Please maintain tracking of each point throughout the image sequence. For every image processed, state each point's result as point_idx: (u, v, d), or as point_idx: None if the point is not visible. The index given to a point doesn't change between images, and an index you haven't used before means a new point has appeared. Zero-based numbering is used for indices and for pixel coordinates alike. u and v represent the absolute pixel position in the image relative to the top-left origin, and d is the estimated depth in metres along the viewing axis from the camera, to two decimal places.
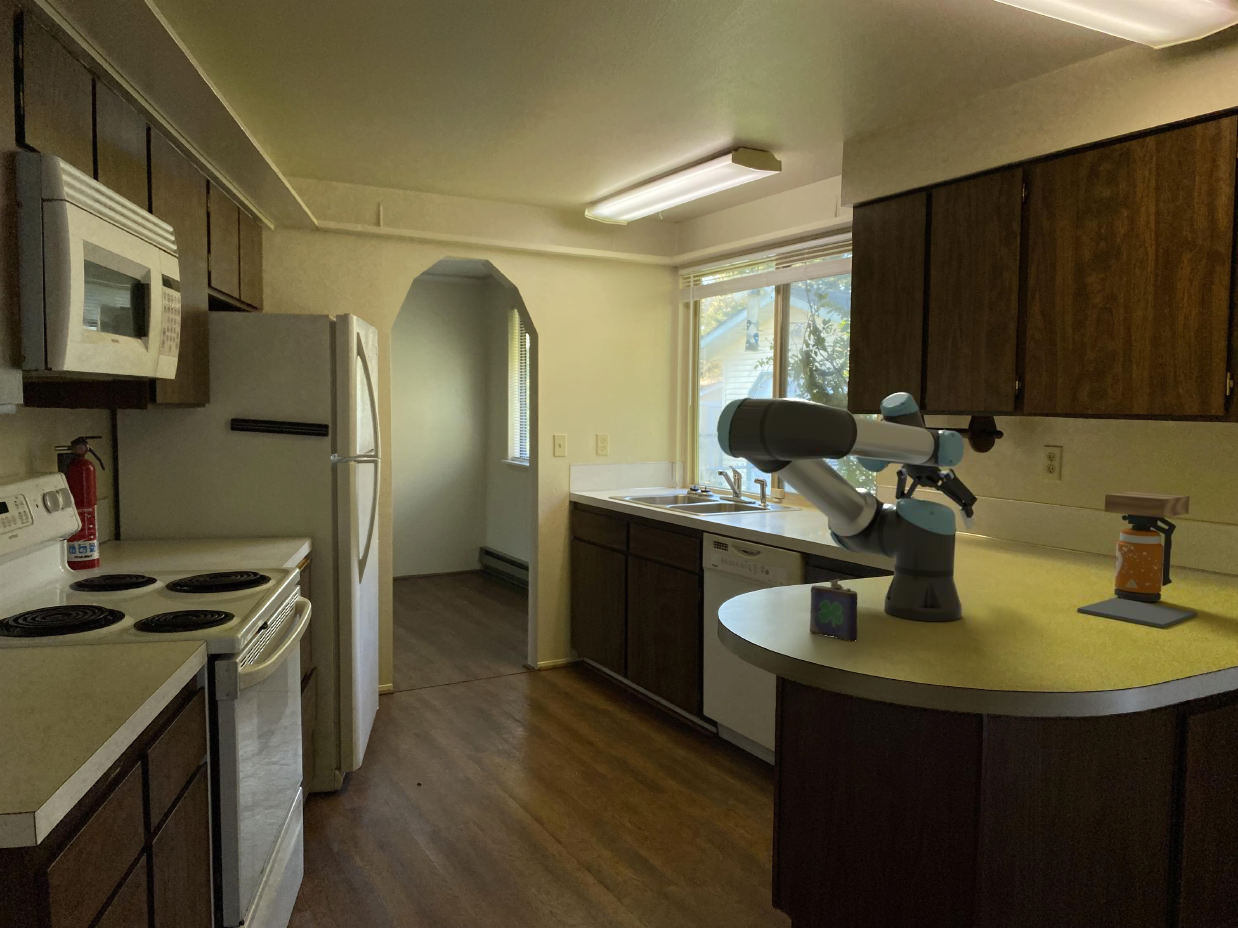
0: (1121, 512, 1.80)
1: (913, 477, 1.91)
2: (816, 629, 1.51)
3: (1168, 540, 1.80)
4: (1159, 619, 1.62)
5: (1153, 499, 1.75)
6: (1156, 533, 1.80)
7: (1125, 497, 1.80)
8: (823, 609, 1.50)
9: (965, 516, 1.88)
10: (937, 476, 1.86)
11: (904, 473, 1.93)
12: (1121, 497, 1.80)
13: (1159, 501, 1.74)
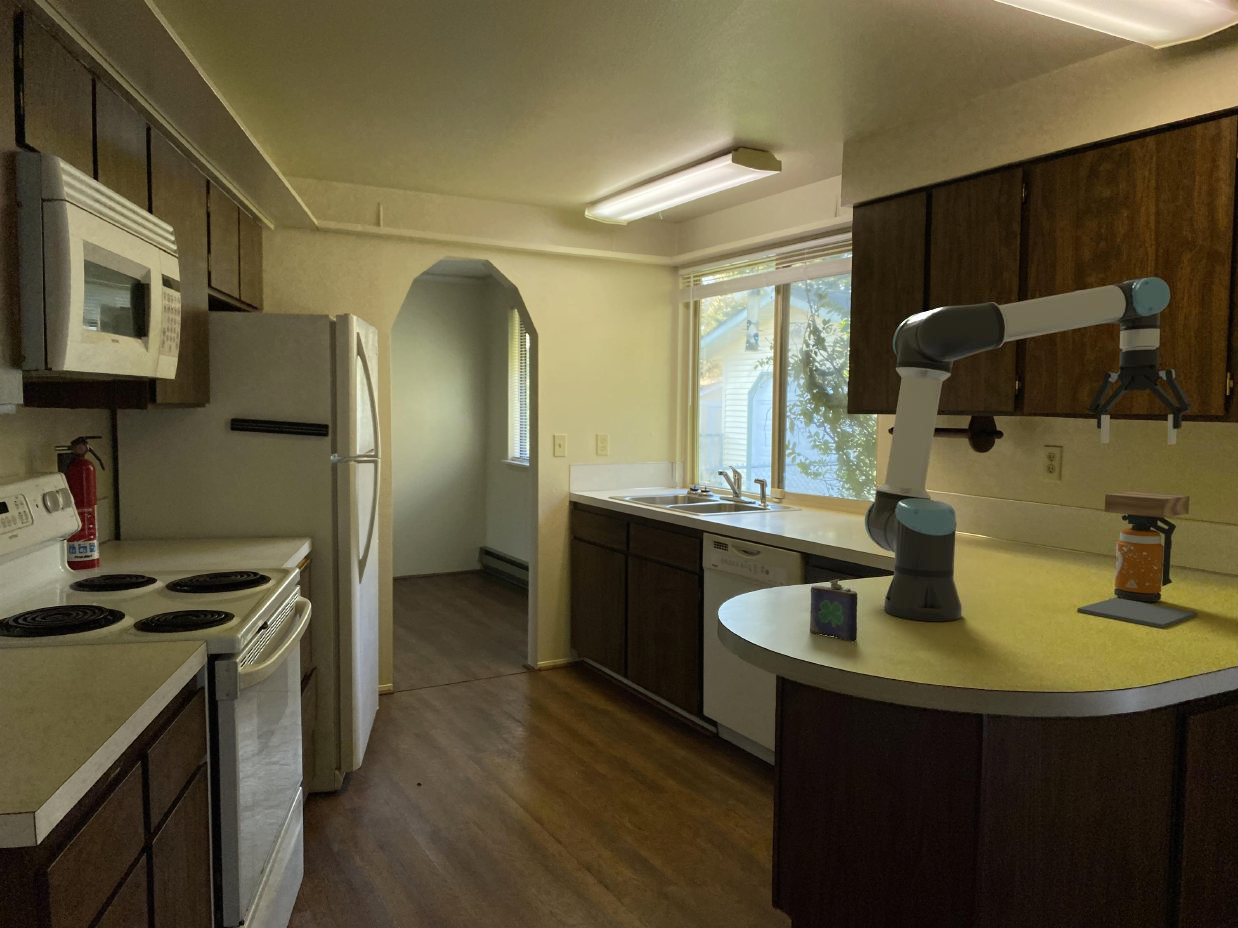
0: (1121, 512, 1.80)
1: (1124, 378, 1.84)
2: (816, 629, 1.51)
3: (1168, 540, 1.80)
4: (1159, 619, 1.62)
5: (1153, 499, 1.75)
6: (1156, 533, 1.80)
7: (1125, 497, 1.80)
8: (823, 609, 1.50)
9: (1172, 426, 1.76)
10: (1156, 373, 1.78)
11: (1112, 377, 1.86)
12: (1121, 497, 1.80)
13: (1159, 501, 1.74)
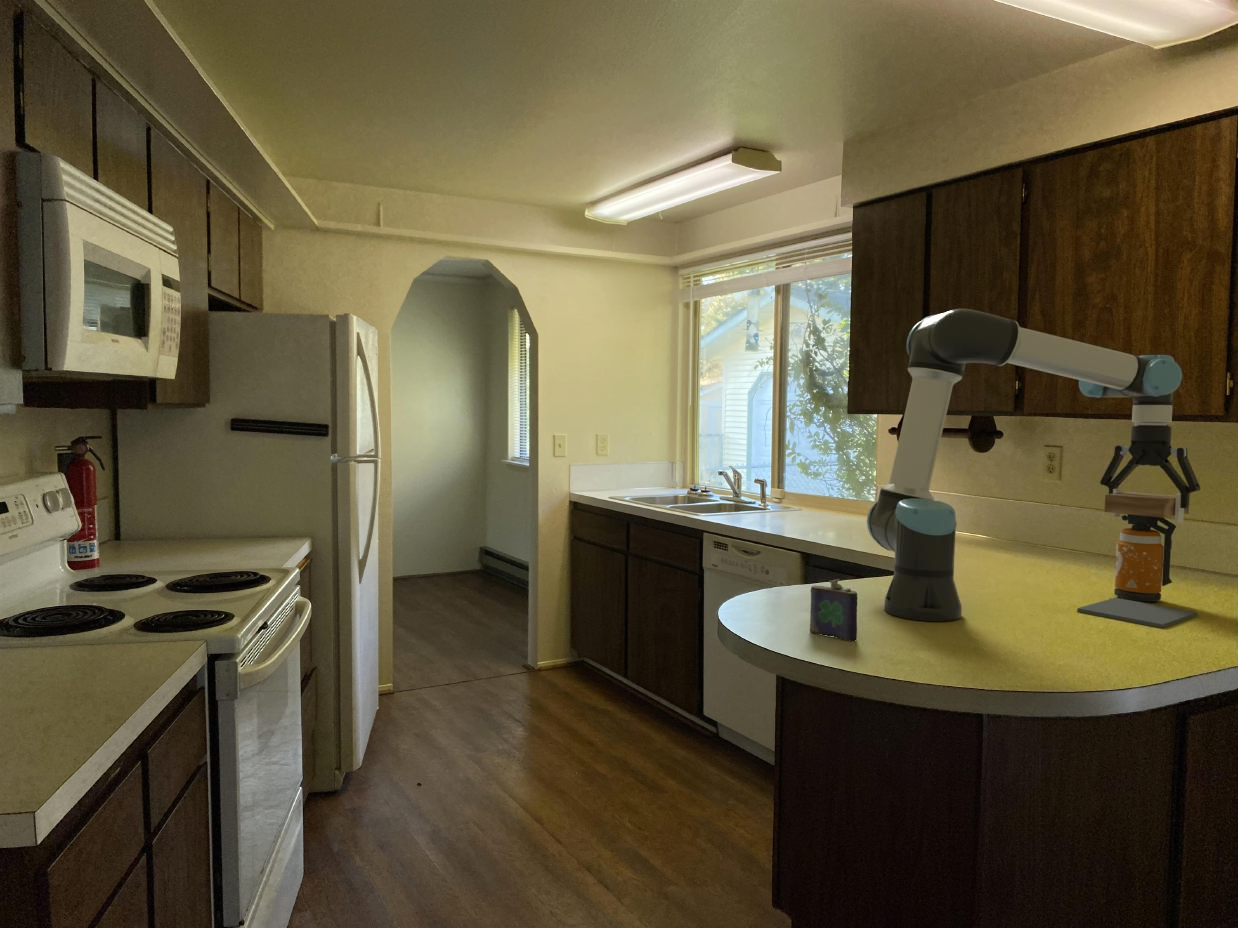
0: (1121, 512, 1.80)
1: (1135, 452, 1.83)
2: (816, 629, 1.51)
3: (1168, 540, 1.80)
4: (1159, 619, 1.62)
5: (1153, 499, 1.75)
6: (1156, 533, 1.80)
7: (1125, 497, 1.80)
8: (823, 609, 1.50)
9: (1179, 505, 1.76)
10: (1167, 450, 1.78)
11: (1123, 450, 1.86)
12: (1121, 497, 1.80)
13: (1159, 501, 1.74)
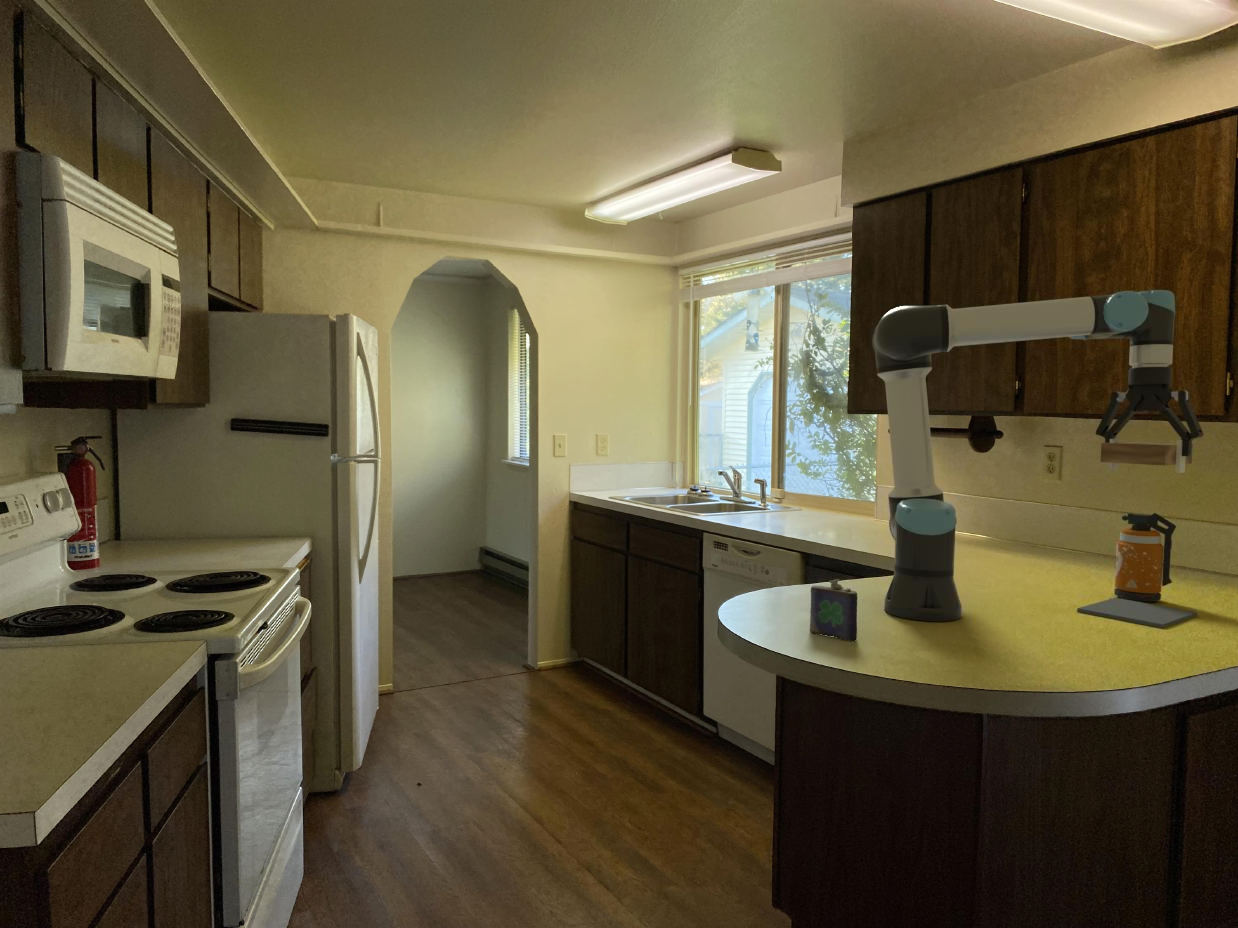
0: (1118, 461, 1.66)
1: (1133, 397, 1.69)
2: (816, 629, 1.51)
3: (1168, 540, 1.80)
4: (1159, 619, 1.62)
5: (1153, 446, 1.61)
6: (1156, 533, 1.80)
7: (1123, 445, 1.65)
8: (823, 609, 1.50)
9: (1181, 453, 1.62)
10: (1168, 394, 1.64)
11: (1120, 396, 1.71)
12: (1118, 445, 1.66)
13: (1160, 447, 1.60)
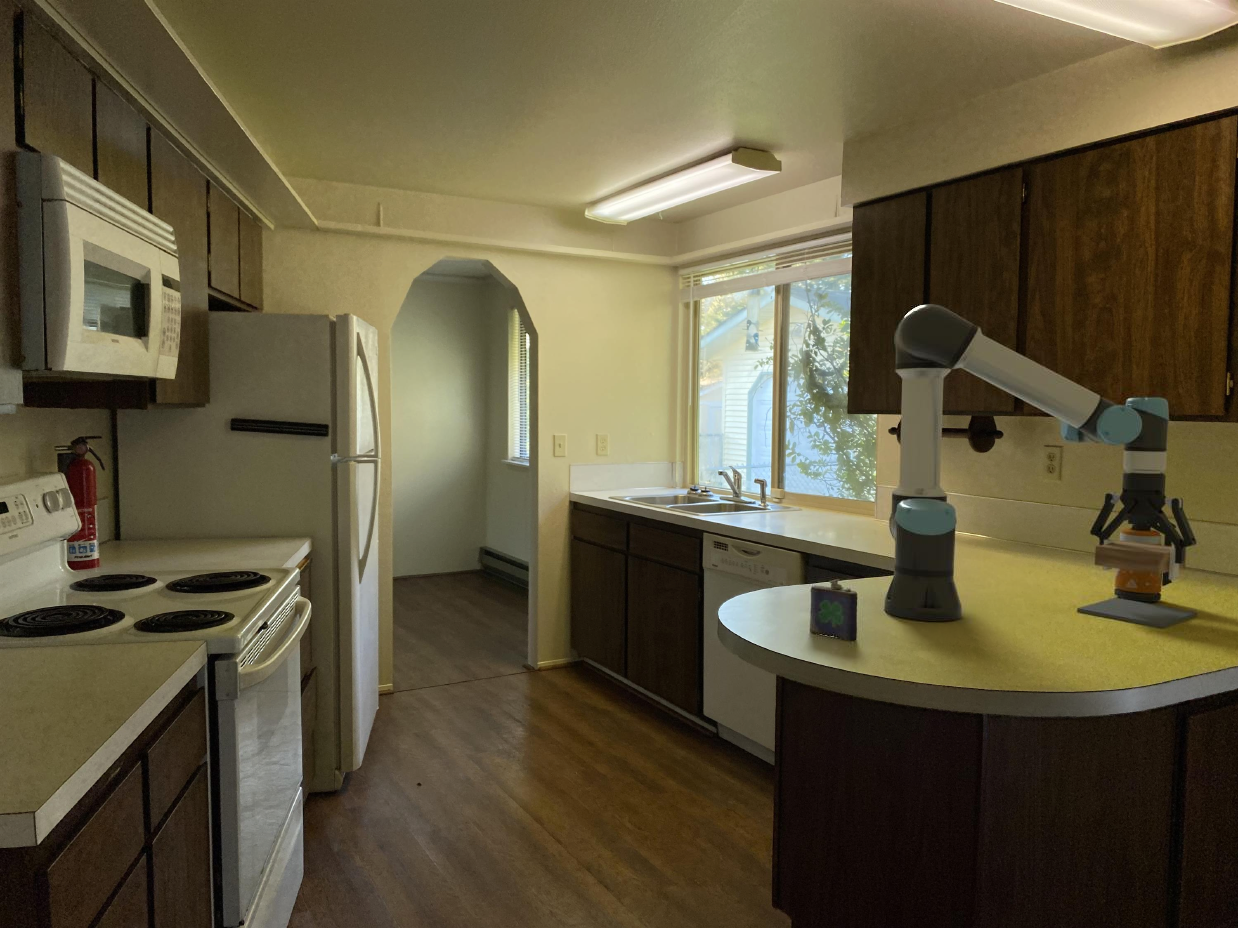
0: (1112, 566, 1.67)
1: (1127, 501, 1.70)
2: (816, 629, 1.51)
3: (1168, 540, 1.80)
4: (1159, 619, 1.62)
5: (1147, 554, 1.62)
6: (1156, 533, 1.80)
7: (1117, 550, 1.67)
8: (823, 609, 1.50)
9: (1174, 560, 1.63)
10: (1161, 500, 1.65)
11: (1114, 498, 1.73)
12: (1112, 550, 1.67)
13: (1153, 556, 1.61)
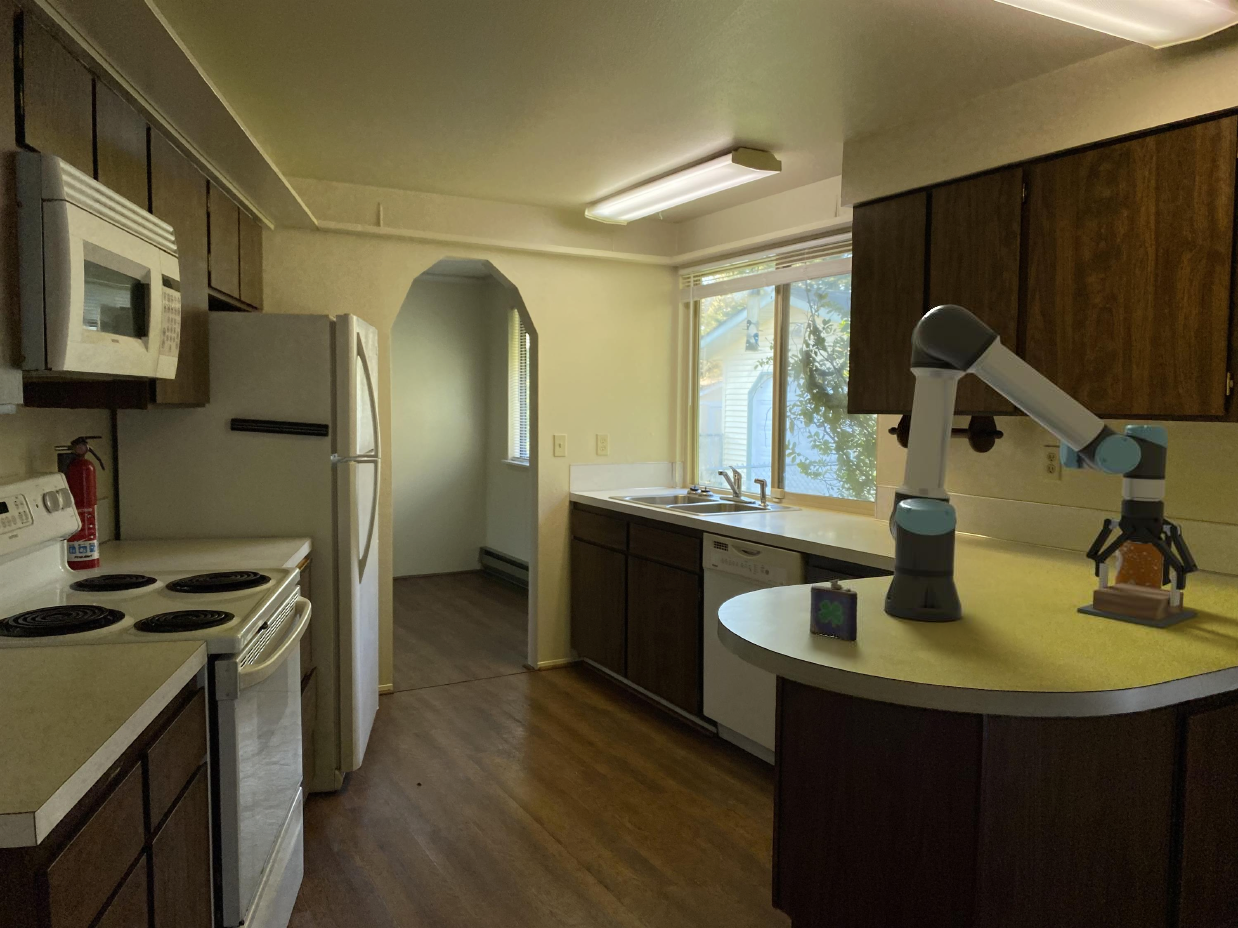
0: (1110, 611, 1.68)
1: (1125, 528, 1.71)
2: (816, 629, 1.51)
3: (1168, 540, 1.80)
4: (1159, 619, 1.62)
5: (1144, 600, 1.63)
6: None
7: (1114, 595, 1.67)
8: (823, 609, 1.50)
9: (1175, 586, 1.63)
10: (1160, 528, 1.65)
11: (1113, 524, 1.73)
12: (1110, 595, 1.68)
13: (1151, 602, 1.62)
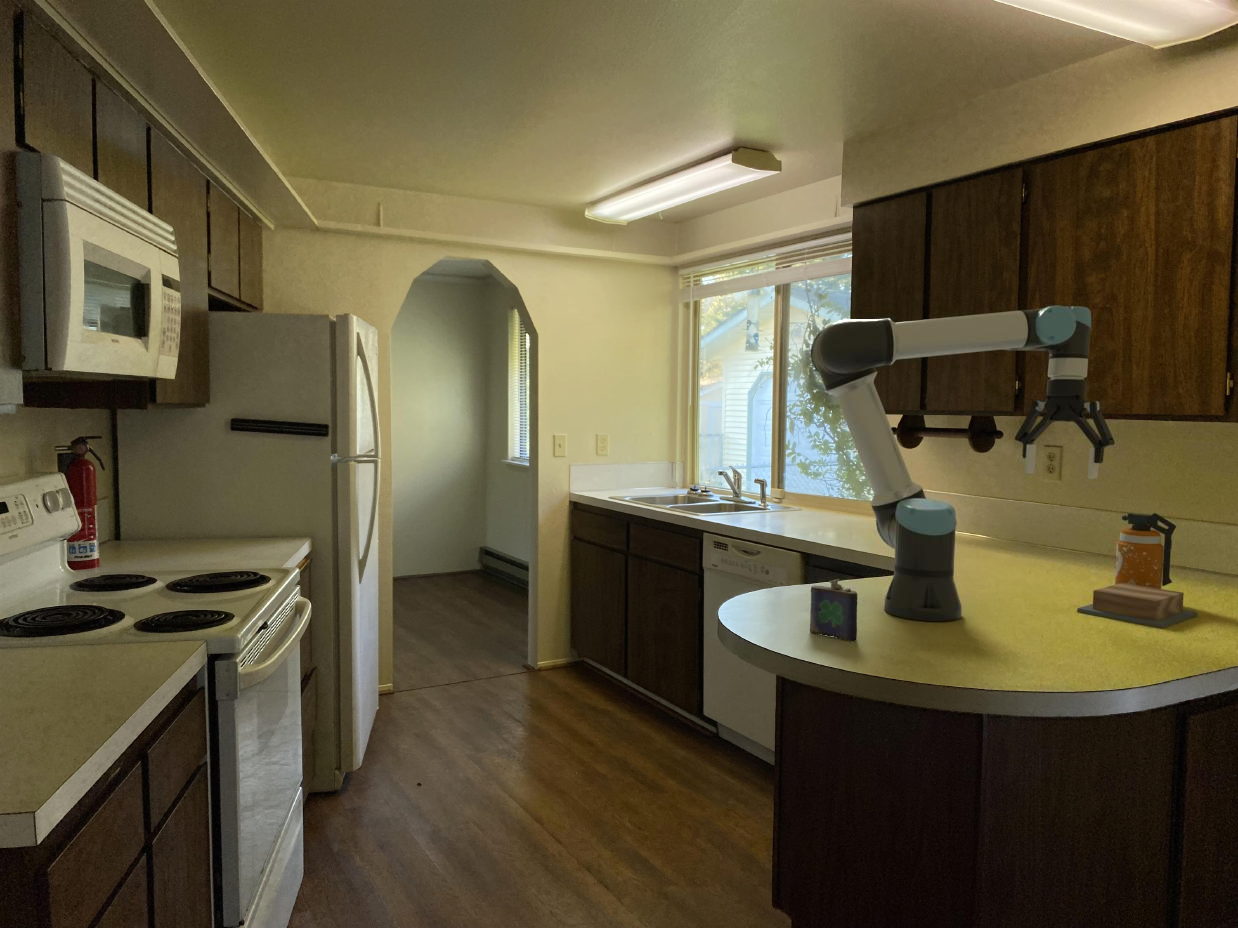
0: (1110, 611, 1.68)
1: (1050, 408, 1.78)
2: (816, 629, 1.51)
3: (1168, 540, 1.80)
4: (1159, 619, 1.62)
5: (1144, 600, 1.63)
6: (1156, 533, 1.80)
7: (1114, 595, 1.67)
8: (823, 609, 1.50)
9: (1093, 459, 1.70)
10: (1081, 405, 1.72)
11: (1040, 405, 1.80)
12: (1110, 595, 1.68)
13: (1151, 602, 1.62)
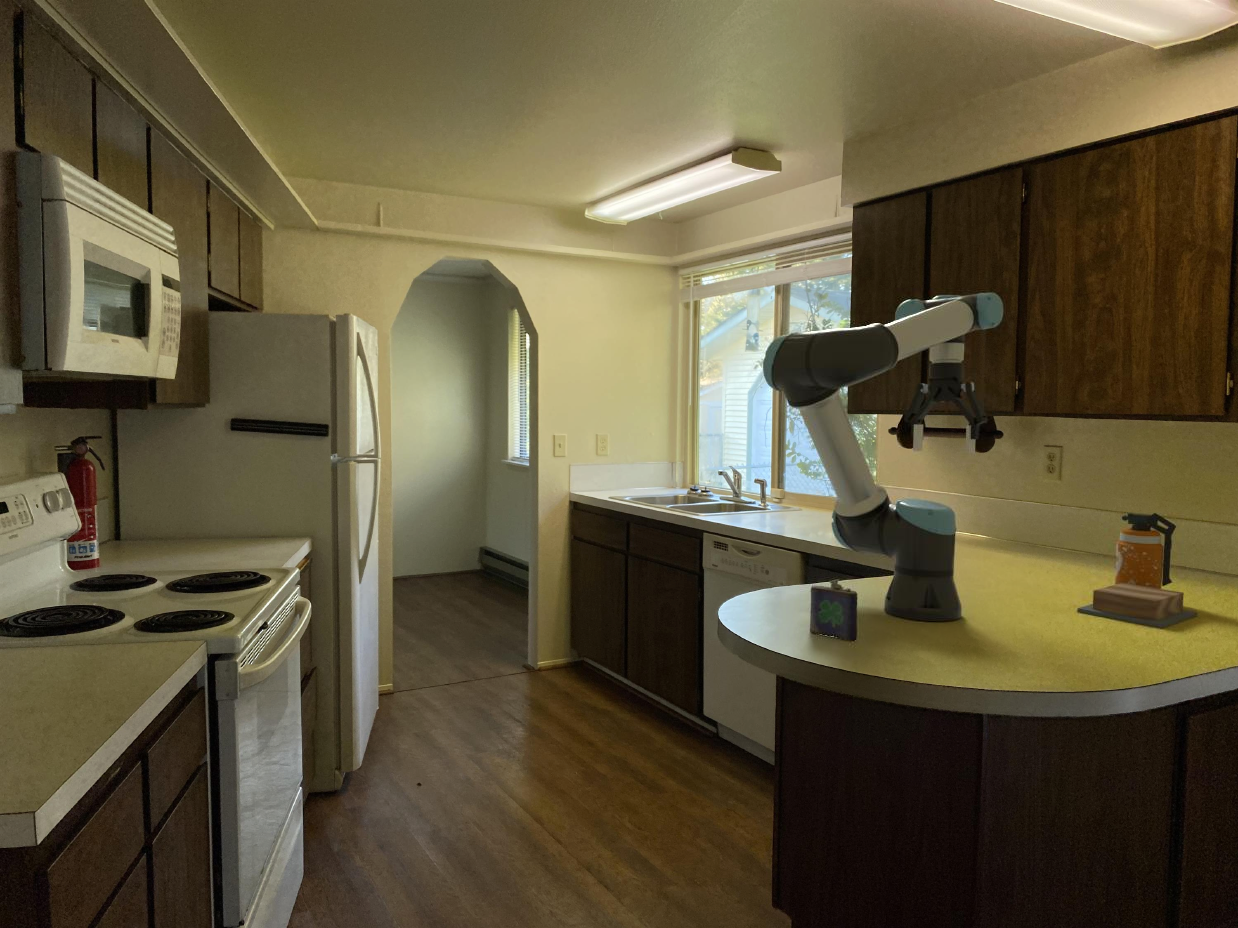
0: (1110, 611, 1.68)
1: (932, 390, 1.92)
2: (816, 629, 1.51)
3: (1168, 540, 1.80)
4: (1159, 619, 1.62)
5: (1144, 600, 1.63)
6: (1156, 533, 1.80)
7: (1114, 595, 1.67)
8: (823, 609, 1.50)
9: (969, 436, 1.84)
10: (958, 386, 1.86)
11: (924, 388, 1.94)
12: (1110, 595, 1.68)
13: (1151, 602, 1.62)
